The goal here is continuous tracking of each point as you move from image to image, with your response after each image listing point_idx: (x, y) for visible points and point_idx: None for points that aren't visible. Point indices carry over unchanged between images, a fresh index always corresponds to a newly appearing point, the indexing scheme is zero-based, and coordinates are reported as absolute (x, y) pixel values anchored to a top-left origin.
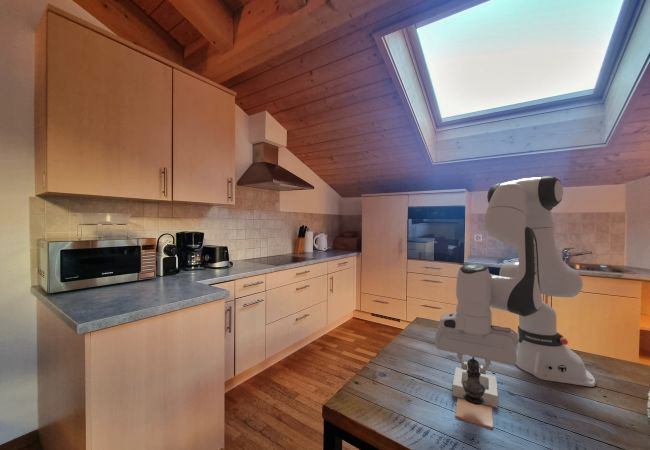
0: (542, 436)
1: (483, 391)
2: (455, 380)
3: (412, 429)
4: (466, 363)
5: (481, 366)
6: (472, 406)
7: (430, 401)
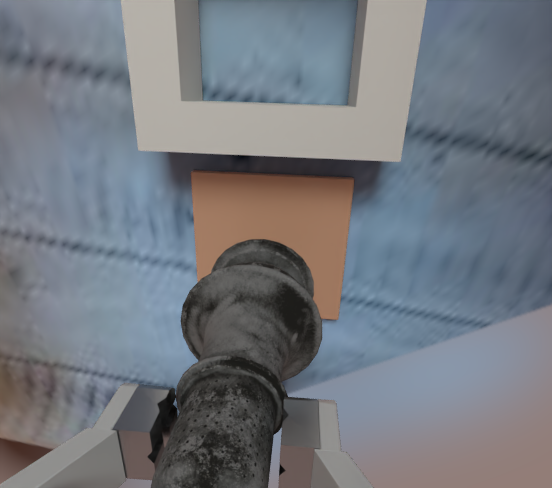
0: (524, 277)
1: (307, 364)
2: (143, 86)
3: (93, 407)
4: (147, 462)
5: (293, 472)
6: (262, 218)
7: (89, 242)
